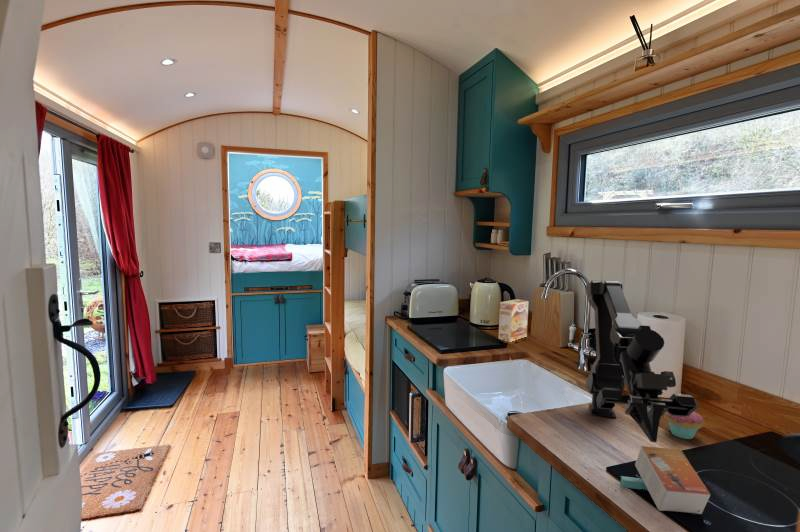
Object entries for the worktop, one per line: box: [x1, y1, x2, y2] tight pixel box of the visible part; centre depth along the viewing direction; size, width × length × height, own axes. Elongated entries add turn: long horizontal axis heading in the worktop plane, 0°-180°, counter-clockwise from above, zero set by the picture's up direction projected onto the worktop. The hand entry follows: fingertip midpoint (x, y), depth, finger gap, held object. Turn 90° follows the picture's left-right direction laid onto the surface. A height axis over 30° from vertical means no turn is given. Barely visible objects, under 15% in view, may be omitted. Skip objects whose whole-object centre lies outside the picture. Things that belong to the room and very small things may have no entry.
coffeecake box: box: [497, 298, 530, 342], centre depth 194 cm, size 15×7×20 cm, turn 132°
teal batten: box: [620, 475, 648, 491], centre depth 83 cm, size 2×12×2 cm, turn 78°
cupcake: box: [663, 390, 704, 440], centre depth 106 cm, size 9×8×12 cm
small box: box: [634, 445, 711, 515], centre depth 80 cm, size 8×6×10 cm
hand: (653, 441), depth 84 cm, fingers closed
